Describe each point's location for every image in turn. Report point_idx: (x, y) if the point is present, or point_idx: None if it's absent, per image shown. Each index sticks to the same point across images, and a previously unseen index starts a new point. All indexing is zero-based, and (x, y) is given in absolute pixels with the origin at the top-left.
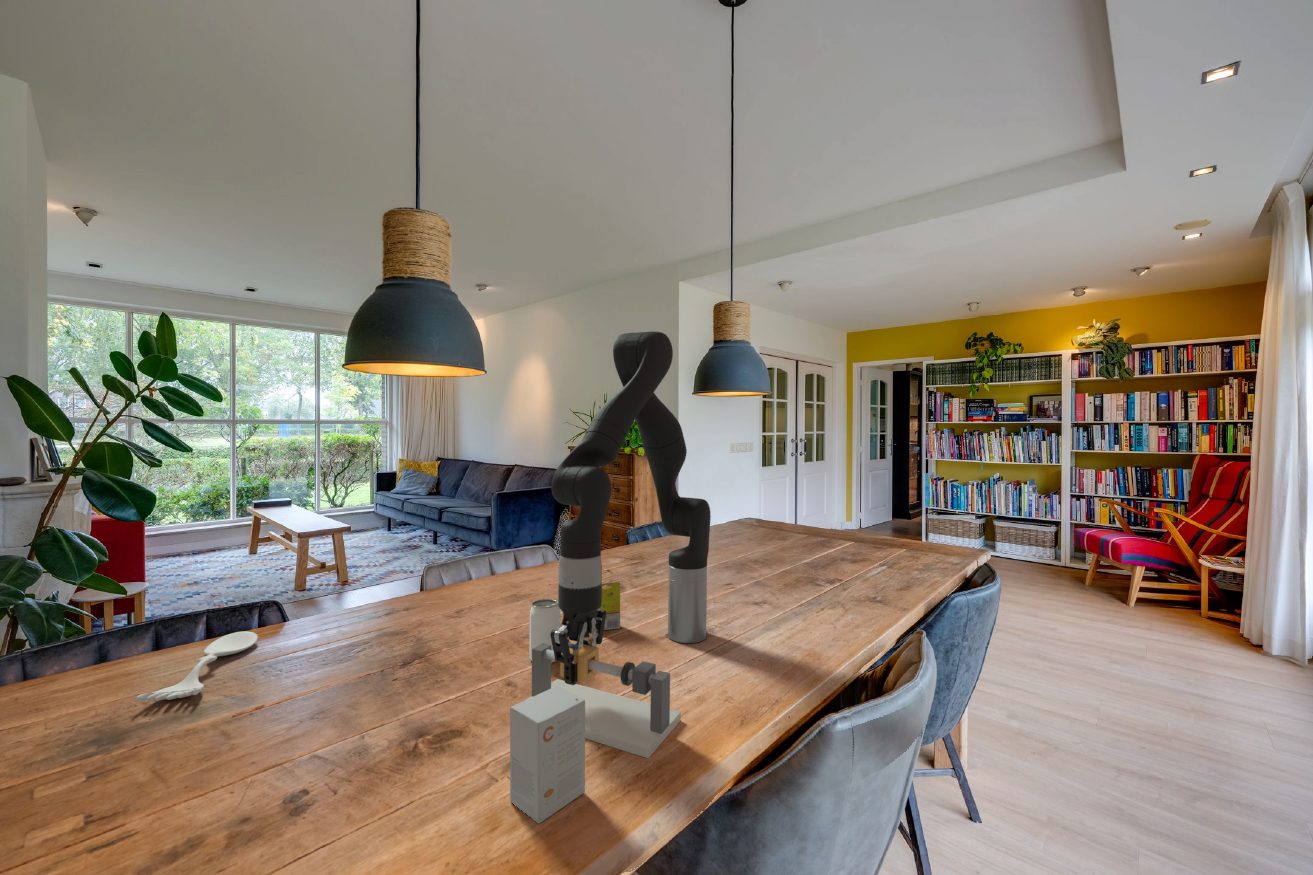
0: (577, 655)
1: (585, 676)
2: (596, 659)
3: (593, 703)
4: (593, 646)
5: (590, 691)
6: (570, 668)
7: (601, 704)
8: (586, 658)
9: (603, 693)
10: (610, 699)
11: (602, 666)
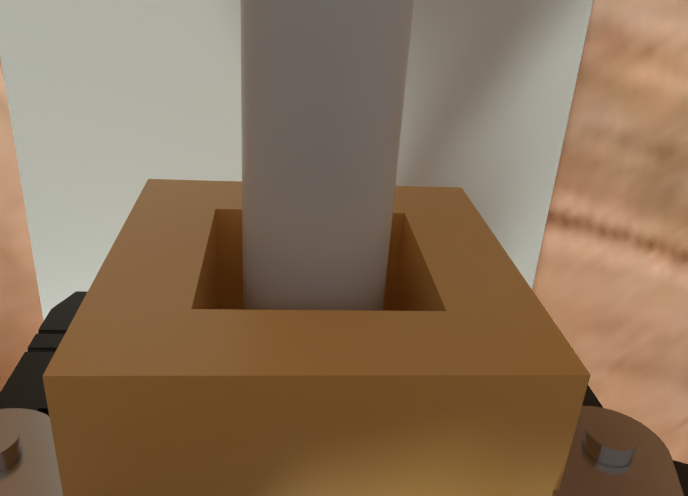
0: (574, 492)
1: (454, 210)
2: (169, 263)
3: (232, 114)
4: (65, 476)
5: (84, 233)
6: (598, 406)
7: (212, 45)
8: (500, 339)
9: (47, 124)
10: (96, 15)
11: (403, 11)
